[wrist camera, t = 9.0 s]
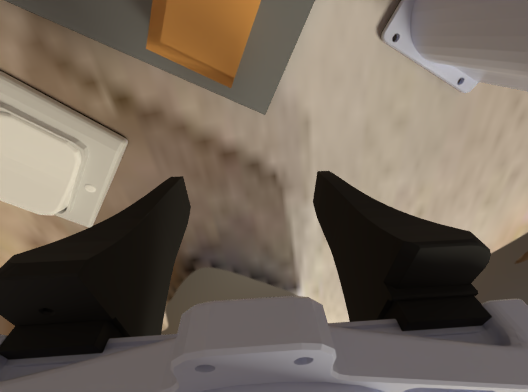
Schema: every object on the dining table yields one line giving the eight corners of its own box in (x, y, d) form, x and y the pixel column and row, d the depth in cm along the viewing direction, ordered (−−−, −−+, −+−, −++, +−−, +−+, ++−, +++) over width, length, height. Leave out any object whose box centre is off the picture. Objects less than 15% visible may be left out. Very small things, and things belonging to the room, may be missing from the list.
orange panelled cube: (260, 2, 14) (264, -10, 11) (234, 76, 17) (231, 88, 13) (186, -43, 13) (162, -74, 9) (170, 45, 15) (146, 48, 12)
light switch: (-70, 200, 19) (-97, 58, 13) (-22, 174, 22) (-25, 50, 16) (75, 248, 23) (108, 159, 17) (97, 220, 26) (132, 136, 20)
